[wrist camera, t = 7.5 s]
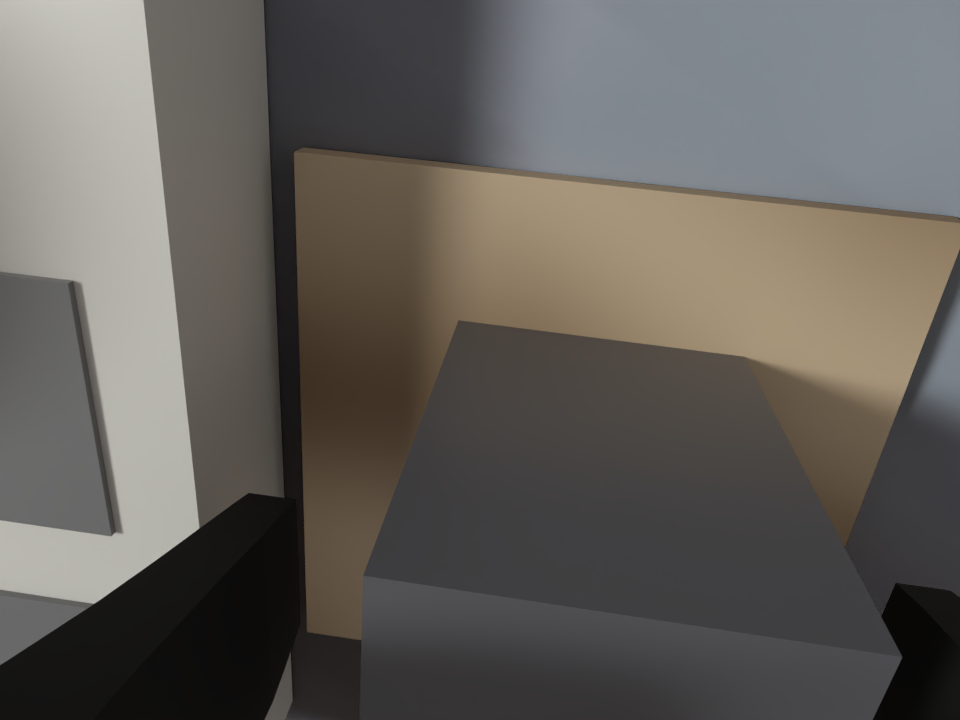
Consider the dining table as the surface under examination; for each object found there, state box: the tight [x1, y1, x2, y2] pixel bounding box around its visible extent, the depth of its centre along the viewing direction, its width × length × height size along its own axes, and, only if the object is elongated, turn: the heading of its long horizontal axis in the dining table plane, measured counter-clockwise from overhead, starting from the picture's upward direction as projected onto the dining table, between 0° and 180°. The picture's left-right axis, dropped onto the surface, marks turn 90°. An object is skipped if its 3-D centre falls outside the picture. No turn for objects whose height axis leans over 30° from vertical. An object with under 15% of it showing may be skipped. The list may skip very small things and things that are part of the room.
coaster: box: [294, 147, 960, 640], centre depth 12 cm, size 9×9×1 cm
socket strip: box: [0, 0, 293, 720], centre depth 10 cm, size 20×6×4 cm, turn 175°
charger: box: [359, 320, 902, 720], centre depth 9 cm, size 4×4×6 cm
